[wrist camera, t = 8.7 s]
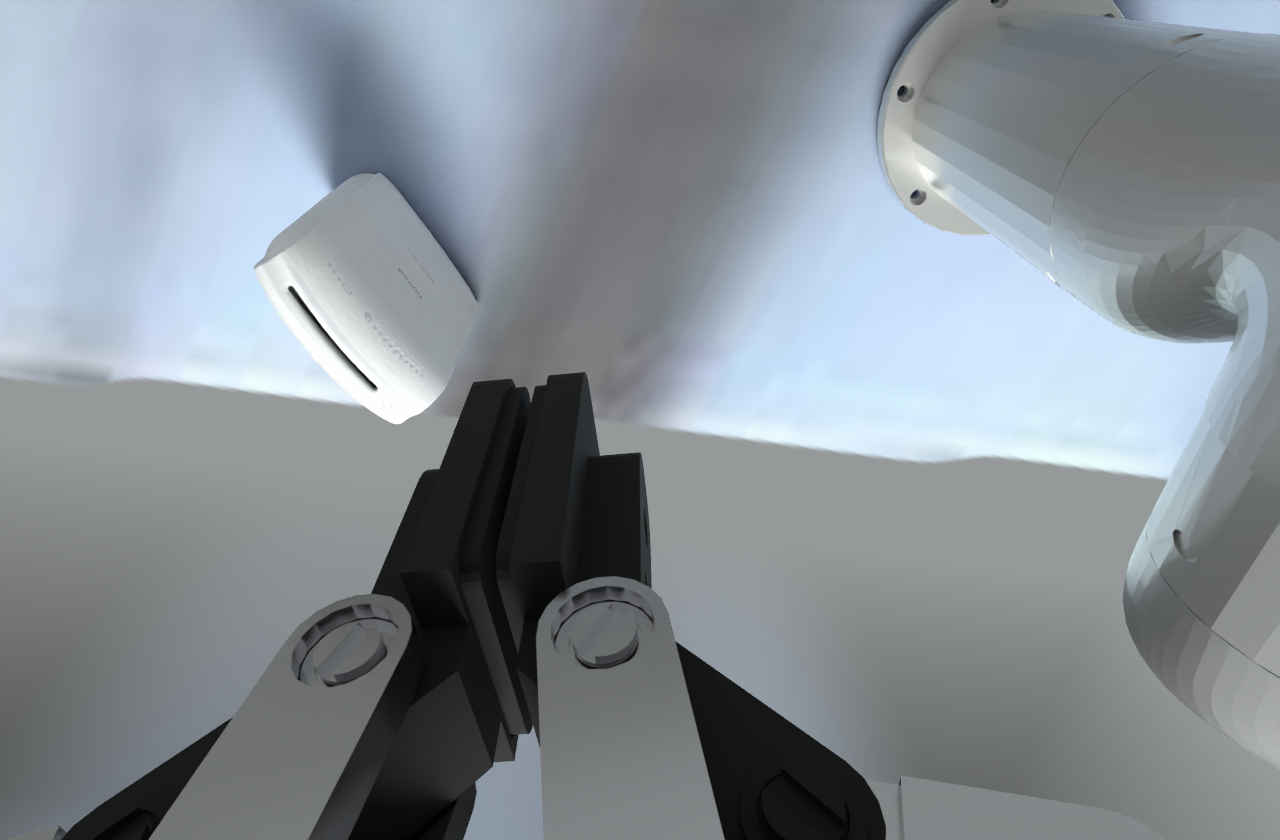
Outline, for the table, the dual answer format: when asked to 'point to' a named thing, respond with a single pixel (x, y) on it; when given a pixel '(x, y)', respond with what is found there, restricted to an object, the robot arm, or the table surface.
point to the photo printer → (371, 296)
